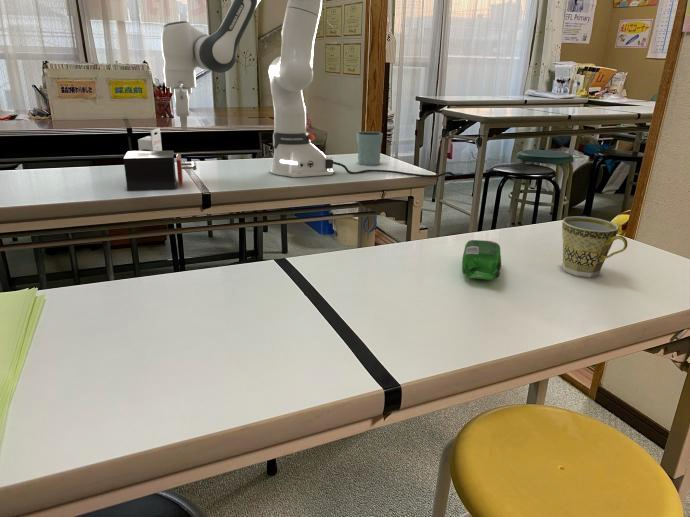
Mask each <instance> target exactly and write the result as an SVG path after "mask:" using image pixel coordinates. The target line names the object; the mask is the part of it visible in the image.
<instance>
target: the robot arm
mask: <svg viewBox="0 0 690 517" xmlns="http://www.w3.org/2000/svg"><path fill="white" fill-rule="evenodd" d="M261 1H262V0H230V6H229V8H228V10H227V12H226V14H225V16H224V18H223V20H222V22H221V24H220V26H219V28H218V29H217V30H216V31H215V32H213V33H212V34H208V33H206V32H205V33H204V31H201V30H199V29H197V28H196V27H195V26H193V25H192V24H191V23H190V22H189V21H186V20H180V21H174V22H167V23H165V24H164V25H163V27H162V29H161V53H162V58H163V61H164V66H163V75H164V76H163V77H164V86H165V88H169V93H170V94H173V96H174V104H175V106H174V107H175V115H176V117H179V122H180V129H181V130H182V131H185V130H188V117H189V116H190V101H191V100H190V96H191V94H193V89H195V88H197V78H196V69H197V68H199V69H202V70H207V71H212V72H214V73H217V74H219V73H220V74H221V73H226V72H228V71H230V70H231V69H232V68H233V67H234V66H235V64H236V61H237V58H238V57H237V56H238V50H239V45H240V41H241V39H242V37H243V35H244V33H245V31H246V29H247V27H248V25H249V23H250V21H251V19H252V17H253V15H254V13H255V11H256V9H257V7H258V5H259V4H260V3H261ZM322 6H323V0H287V5H286V8H285V13H284V18H283V23H282V27H281V48H280V49H281V50H280V56H277V57H276V58H274V60H272V62H271V63H269V66H268V78H269V85H270V92H271V99H272V104H273V125H274V126H273V128H274V129H273V132H272V147H273V157H272V163H271V167H270V173H271V174H274V175H277V176H286V177H290V178H305V177H317V176H318V177H319V176H320V177H321V176H331V175H333V174H334V169H333V168H334V165H336V166H338V167H342V168H344V170H345V171H346V173H347V174H349V175H357V174H358V175H359V174H364V173H387V174H398V175H403V176H404V175H405V176H411V177H418V178H419V177H421V178H439V177H443V176H445V175H450V176H452V177H455V178H456V174H454V173H453V172H451V171H444V172H442V173H439V174H420V173H411V172H404V171H399V170H398V171H397V170H388V169H363V170H359V171H352V170H349V169H348V167H347V166H346V165H345V164H343V163H341V162H337V161H334V157H331V156H330V157H329V156H328V157H327V156H326V154H325V153H324V152H323V151H321V150H320V149H319V148H318V147H317V146H316V145H314V144H313V143H312V142H313V141H315V139H316V137H315V135H314V134H311V133H309V132H308V131H307V107H306V105H305V102H304V94H303V90H306V89H307V88H308V87H310V85H311V84H312V82H313V80H314V70H313V64H314V46H315V39H316V35H317V30H318V26H319V22H320V17H321V13H322Z"/></svg>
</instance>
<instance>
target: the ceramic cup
mask: <svg viewBox="0 0 690 517" xmlns="http://www.w3.org/2000/svg"><path fill="white" fill-rule="evenodd" d="M561 226H562V227H561V229H562V230H561V232H562V233H561V234H562V268H563V271H564V272H565V273H568V274H570V275H573V276H575V277H581V278H594V277H598V276H599V275H600V272H601V270H602V268H603V266H604V263H605V261H606V260H607V259H609V258H611V257H613V256H614V255H617V254H620V253H623V252H624V251H625V250H626V249H627V248H628V240H627V238H626V237H625V236H623V235H617V234H618V232H619V230H620V227H619V225H617V224H616V223H614V222H612V221H609V220H606V219H602V218H598V217H590V216H582V215H581V216H578V215H577V216H573V215H572V216H567V217H564V218H562V225H561ZM616 240H620V241H622V242H623V248H622V249H620V250H617V251H614V252H612V253H610V254H609V252H610V250H611V248H612V246H613V244H614V241H616Z"/></svg>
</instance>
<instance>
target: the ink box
mask: <svg viewBox="0 0 690 517" xmlns="http://www.w3.org/2000/svg"><path fill="white" fill-rule="evenodd" d="M155 133H156V134H155ZM137 144H138V151H163V147H162V146H163V145H162V134H161V129H160V127H157V128H154V129H151V130H150V135H147V136H144V137H142V138H139V139H137Z"/></svg>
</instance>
